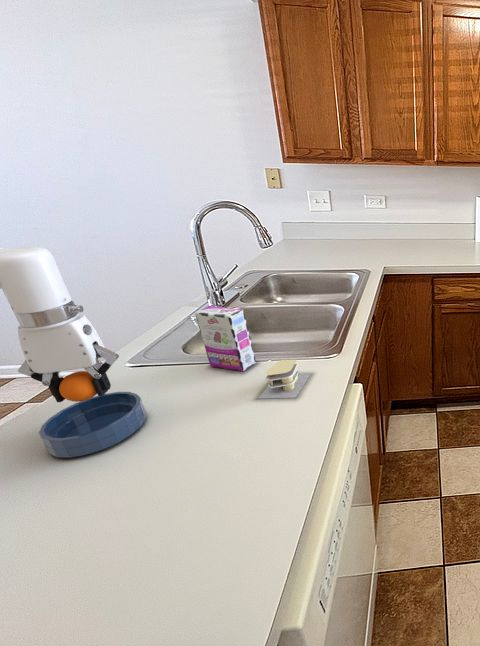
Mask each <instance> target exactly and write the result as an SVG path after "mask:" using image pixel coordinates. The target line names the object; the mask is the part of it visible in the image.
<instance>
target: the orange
mask: <svg viewBox="0 0 480 646" xmlns="http://www.w3.org/2000/svg"><path fill="white" fill-rule="evenodd" d="M63 378H64V379H63V380H62V382H61V383H60V386H59V391H60V394H61V395H62V396H63V397H64V398H65V400H67V401H70V402H74V403H78V402H80V401H85V400H88V399H90V398H92V397H95V396H97V395H98V394H97V392H96V390H95V388H94V386H93V383H92V379H93V378H94V377H93V376H92V375H91V374H89V373H88V372H87V371H86V370H79V371H74V372H71V373H70V374H68V375H67V376H65V377H63Z"/></svg>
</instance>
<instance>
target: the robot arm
mask: <svg viewBox="0 0 480 646" xmlns="http://www.w3.org/2000/svg"><path fill="white" fill-rule="evenodd" d="M60 271H61V270H60V269H59V266H58V264H57V262H56V259H55V257H54V255H53V253H52V252H51V251H49V250H48V249H47V248H44V247H39V246H38V247H37V246H34V247H33V246H31V247H20V248H10V247H9V248H7V247H0V290H2V292H3V294H4V296H5V298H6V300H7V302H8V304H9V306H10V308H11V310H12V312H13V314H14V316H15V318H16V320H17V322H18V324H19V325H18V327H17V335H18V340H19V345H20V347H21V350H22V353H23V355H24V358H25V360H24V361H23V363H22V364H21V365H20V367H19V368H18V369H17V372H18V373H19V374H22V375H24V376H27V377H30V378H31V379H32V380H35V381H38V382H40V383H41V384H42V386H44V387H48V389H49V391H50V393H51V395H52V397H53V398H54V399H55V402H56V403H62V402H64V401H65V400H66V399H65V398H64V397H63V396H62V395H61V394H60V391H59V386H60V383H61V382H62V380H63V379H64V378H65V377H64V376H60V372H65V371H66V372H67V371H73V370H80V369H81V370H82V369H84V371H87V372H88V373H89V374H91V375H92V376H93V377H94V378H93V379H92V383H93V386H94V388H95V390H96V392H97V394H96V395H97V396H103V395H104V394H107V393H108V391H109V390H111V386H112V384H111V381H110V380H109V379H110V378H109V376H108V375H107V372H108V371H109V369H111V367H112V366H113V365H114V364H115V362H116V361H117V360H118V359H119V358H120V355H119V354H118V353H116V352H114V351H112V350H110V349H108V348H106V347H105V345H104V343H103V340H102V339H101V337H100V335H99V333H98V332H97V330H96V328H95V327H94V325H93V324H92V323H91V321H90V320H89V319H88V318H87V317H86V316H85V314H84V313H83V312H84V307H83V305H81V304H79V305H77V304H75V302H74V300H73V299H72V296H71V294H70V292H69V290H68V288H67V286H66V283H65V281H64V278H63V276H62V273H61V272H60ZM101 358H102V359H104V362H102V361H101V360H100V359H101Z"/></svg>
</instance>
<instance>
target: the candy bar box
mask: <svg viewBox="0 0 480 646" xmlns="http://www.w3.org/2000/svg"><path fill="white" fill-rule="evenodd" d="M194 315H195V318H196V321H197V325H198V328H199V333H200V335H201V340H202V342H203V345H204V349H205V353H206V356H207V359H208V360H207V361H208V362H209V366H210V367H211V368H216V369H224V370H231V371H237V372H245V371H247V370H248V369H250V368H251V367H253V366H255V365H256V364H257V360H256V356H255V353H254V348H253V344H252V339H251V336H250V331H249V327H248V324H247V319H246V314H245V311H244V309H242V308H232V307H222V306H214V305H213V306H212V305H208V306H206V307H204V308H202V309H200V310H198V311H195V312H194Z"/></svg>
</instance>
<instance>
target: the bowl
mask: <svg viewBox="0 0 480 646" xmlns="http://www.w3.org/2000/svg"><path fill="white" fill-rule="evenodd" d="M146 420H147V411H146V409H145V406H144V403H143V401H142V398H141V397H140V396H139V395H138V394H137V393H136V392H133V391H132V392H131V391H115V392H106V393H105V394H104V395H103V396H98V395H95V396H94V397H92V398H90V399H88V400H85V401H79V402H74V403H73V404H71V405H69V406H67V407H65V408H62V409H61V410H60V411H58V412H57V413H55V414H53V415H52V416H50V417H49V418H48V419H47V420H46V421H45V422H44V423H43V424H42V425H41V427H40V429H39V431H38V434H39V436H40V438H41V440H42V442H43V445H44V446H45V448H46V451H48V453H49V455H51V456H53V457H56V458H75V457H80V456H88V455H91V454H94V453H97V452H100V451H103V450H106V449H108V448H110V447H112V446H114V445H116V444H118V443H120V442H122V441H123V440H126V439H127V438H128V437H129V436H131V435H132V434H133V433H135V432H136V431H137V430H138V429H140V428H141V427H142V425H143V424H144V423H145V421H146Z"/></svg>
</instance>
